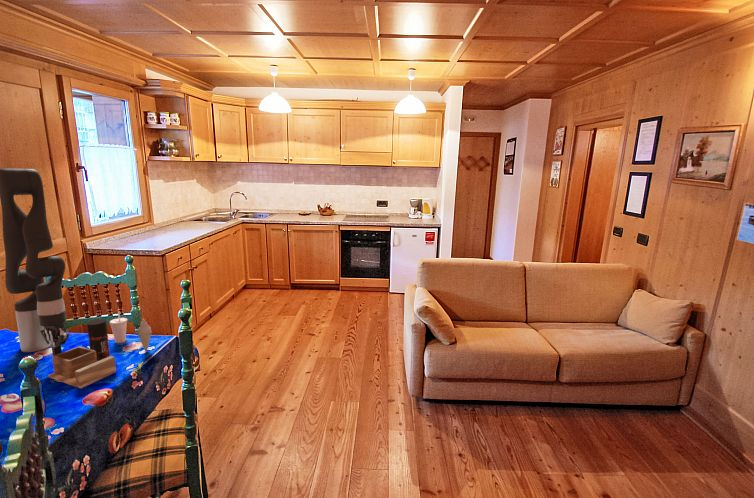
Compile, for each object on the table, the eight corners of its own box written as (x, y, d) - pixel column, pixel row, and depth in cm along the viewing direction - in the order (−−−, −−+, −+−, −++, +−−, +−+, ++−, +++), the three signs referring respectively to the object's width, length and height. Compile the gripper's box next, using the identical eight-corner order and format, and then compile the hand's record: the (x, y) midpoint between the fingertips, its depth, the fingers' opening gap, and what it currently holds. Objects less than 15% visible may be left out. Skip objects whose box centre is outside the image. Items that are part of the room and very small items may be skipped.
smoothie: (120, 345, 157) (117, 314, 155) (107, 343, 158) (104, 312, 156) (132, 339, 163) (130, 309, 161) (120, 337, 165) (117, 307, 162)
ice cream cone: (140, 349, 154) (137, 315, 151) (154, 347, 156) (151, 314, 153) (137, 354, 150) (134, 320, 147) (152, 353, 152) (149, 318, 149)
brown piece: (48, 377, 131) (46, 361, 130) (85, 362, 142) (83, 348, 141) (80, 388, 125) (78, 372, 124) (116, 371, 137) (114, 356, 135)
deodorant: (101, 361, 143) (97, 325, 141) (87, 360, 144) (83, 324, 141) (113, 354, 149) (109, 319, 146) (99, 353, 150) (95, 318, 147)
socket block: (54, 373, 132) (52, 356, 131) (81, 361, 140) (79, 346, 139) (70, 378, 129) (68, 361, 128) (97, 366, 137) (95, 350, 136)
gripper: (27, 311, 133) (34, 356, 136) (51, 317, 128) (57, 363, 132) (52, 305, 140) (57, 347, 143) (75, 310, 135) (80, 354, 139)
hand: (57, 355), depth 137 cm, fingers closed
